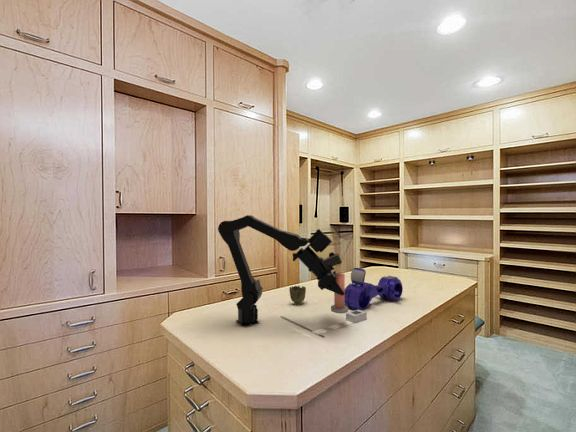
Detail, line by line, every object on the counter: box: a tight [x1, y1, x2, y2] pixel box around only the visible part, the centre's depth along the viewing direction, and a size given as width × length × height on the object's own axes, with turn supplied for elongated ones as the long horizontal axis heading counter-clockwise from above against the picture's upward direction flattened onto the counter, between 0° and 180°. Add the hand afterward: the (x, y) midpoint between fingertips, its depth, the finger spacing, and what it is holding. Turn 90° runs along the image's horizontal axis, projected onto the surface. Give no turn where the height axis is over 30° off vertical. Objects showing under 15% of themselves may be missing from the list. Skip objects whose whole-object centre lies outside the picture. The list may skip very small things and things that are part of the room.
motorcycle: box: [345, 267, 403, 311], centre depth 130 cm, size 35×14×18 cm, turn 127°
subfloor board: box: [280, 315, 354, 339], centre depth 110 cm, size 26×24×1 cm
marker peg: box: [330, 272, 349, 314], centre depth 103 cm, size 6×6×13 cm
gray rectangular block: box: [345, 310, 368, 324], centre depth 108 cm, size 7×4×3 cm, turn 127°
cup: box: [288, 285, 307, 306], centre depth 128 cm, size 8×7×8 cm
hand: (343, 293), depth 103 cm, fingers closed on marker peg, 4 cm apart
